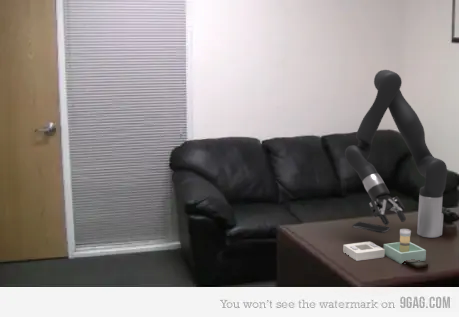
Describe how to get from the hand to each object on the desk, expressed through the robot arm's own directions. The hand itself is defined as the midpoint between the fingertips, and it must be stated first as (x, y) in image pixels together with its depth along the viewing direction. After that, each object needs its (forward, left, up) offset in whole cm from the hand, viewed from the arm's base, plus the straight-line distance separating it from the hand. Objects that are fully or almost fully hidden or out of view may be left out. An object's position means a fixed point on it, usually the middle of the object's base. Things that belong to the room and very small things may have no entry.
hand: (395, 222), depth 218 cm
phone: (-9, -30, -13) cm, 34 cm away
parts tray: (-1, +5, -12) cm, 13 cm away
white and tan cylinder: (-1, +5, -12) cm, 13 cm away
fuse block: (+12, -2, -12) cm, 17 cm away
